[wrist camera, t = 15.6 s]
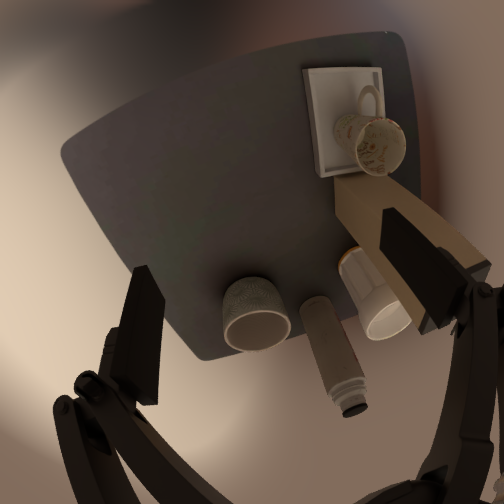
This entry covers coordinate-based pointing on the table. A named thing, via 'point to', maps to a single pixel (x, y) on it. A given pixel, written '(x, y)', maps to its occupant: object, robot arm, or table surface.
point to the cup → (372, 296)
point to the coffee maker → (374, 184)
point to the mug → (371, 138)
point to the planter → (254, 315)
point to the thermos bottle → (334, 356)
